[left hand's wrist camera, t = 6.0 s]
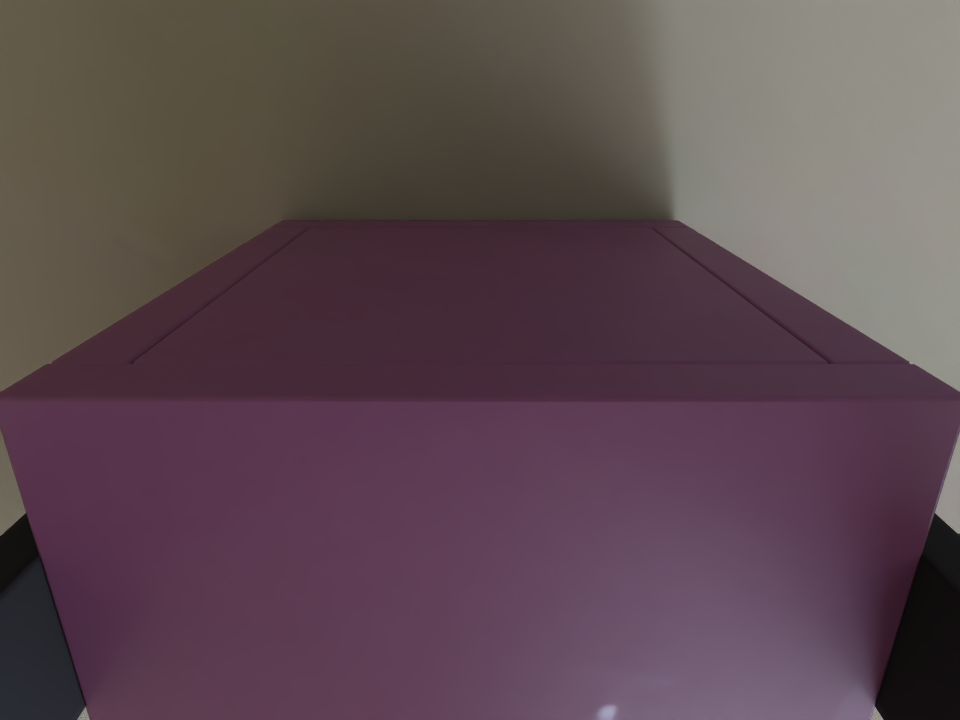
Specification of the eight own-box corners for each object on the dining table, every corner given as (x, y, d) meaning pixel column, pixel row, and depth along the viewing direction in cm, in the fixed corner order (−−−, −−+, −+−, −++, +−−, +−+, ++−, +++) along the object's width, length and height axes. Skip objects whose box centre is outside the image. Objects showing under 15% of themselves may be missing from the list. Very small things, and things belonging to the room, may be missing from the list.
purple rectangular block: (620, 741, 27) (722, 1204, 15) (339, 741, 27) (237, 1204, 15) (680, 219, 19) (973, 397, 8) (280, 219, 19) (-12, 397, 8)
